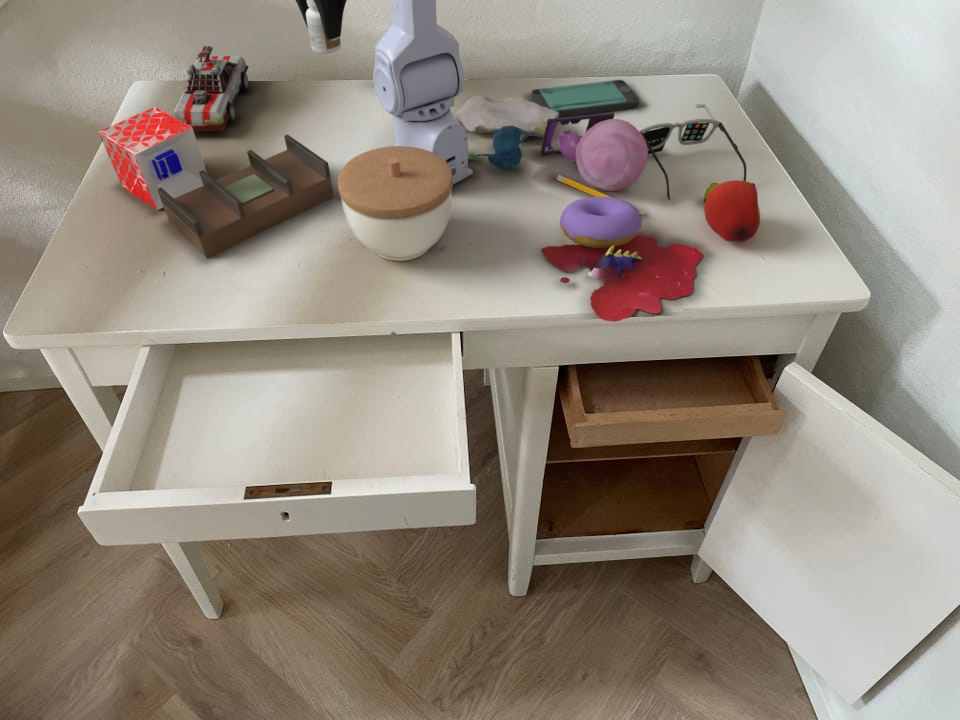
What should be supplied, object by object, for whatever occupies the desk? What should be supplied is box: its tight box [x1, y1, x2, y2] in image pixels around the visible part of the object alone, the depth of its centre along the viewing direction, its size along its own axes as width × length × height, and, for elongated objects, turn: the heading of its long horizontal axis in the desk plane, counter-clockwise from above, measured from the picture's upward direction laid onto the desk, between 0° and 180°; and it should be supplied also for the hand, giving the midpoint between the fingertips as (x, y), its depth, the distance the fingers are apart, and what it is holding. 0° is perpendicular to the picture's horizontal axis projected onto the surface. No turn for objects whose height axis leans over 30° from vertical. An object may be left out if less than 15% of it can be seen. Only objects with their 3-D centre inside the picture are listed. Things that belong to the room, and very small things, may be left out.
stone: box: [456, 95, 560, 138], centre depth 101 cm, size 11×3×15 cm
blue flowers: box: [468, 121, 547, 171], centre depth 95 cm, size 12×4×8 cm
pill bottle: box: [306, 0, 342, 55], centre depth 104 cm, size 4×4×8 cm
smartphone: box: [530, 79, 641, 118], centre depth 107 cm, size 7×1×15 cm
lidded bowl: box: [337, 145, 454, 262], centre depth 81 cm, size 13×13×11 cm
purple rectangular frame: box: [540, 111, 616, 162], centre depth 95 cm, size 7×5×9 cm
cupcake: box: [575, 118, 649, 192], centre depth 91 cm, size 9×9×10 cm
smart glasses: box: [638, 103, 748, 201], centre depth 95 cm, size 12×14×5 cm
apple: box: [703, 180, 761, 242], centre depth 85 cm, size 8×7×10 cm
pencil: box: [553, 173, 645, 216], centre depth 91 cm, size 1×13×1 cm, turn 52°
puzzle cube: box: [98, 106, 208, 211], centre depth 90 cm, size 8×8×8 cm
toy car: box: [171, 45, 250, 132], centre depth 103 cm, size 8×18×8 cm, turn 1°
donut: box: [559, 196, 643, 248], centre depth 83 cm, size 10×9×5 cm
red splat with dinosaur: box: [540, 234, 704, 323], centre depth 81 cm, size 18×15×5 cm
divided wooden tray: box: [157, 134, 335, 259], centre depth 87 cm, size 9×18×5 cm, turn 133°
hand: (324, 32), depth 105 cm, fingers closed on pill bottle, 4 cm apart
